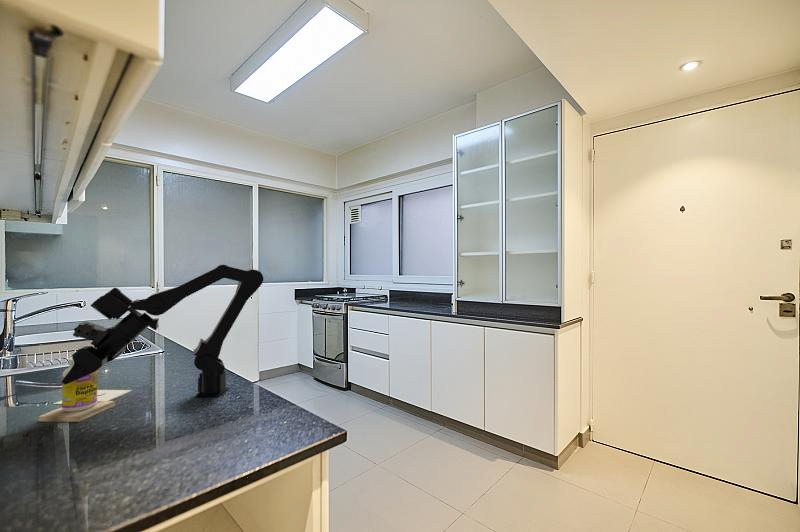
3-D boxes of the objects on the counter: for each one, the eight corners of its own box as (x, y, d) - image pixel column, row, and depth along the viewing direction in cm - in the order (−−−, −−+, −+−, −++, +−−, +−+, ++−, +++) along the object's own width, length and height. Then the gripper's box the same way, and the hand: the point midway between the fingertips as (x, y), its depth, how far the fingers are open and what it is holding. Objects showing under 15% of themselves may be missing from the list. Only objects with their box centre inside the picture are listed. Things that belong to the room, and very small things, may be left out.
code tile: (132, 390, 105) (132, 389, 105) (99, 404, 94) (99, 403, 94) (90, 390, 106) (90, 389, 106) (53, 404, 95) (53, 403, 95)
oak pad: (114, 405, 94) (114, 401, 94) (79, 421, 84) (79, 416, 84) (78, 405, 94) (78, 400, 94) (38, 421, 84) (38, 416, 84)
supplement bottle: (72, 414, 85) (73, 361, 85) (55, 410, 87) (56, 359, 87) (103, 404, 91) (103, 355, 91) (87, 401, 93) (87, 353, 94)
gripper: (112, 307, 99) (61, 349, 95) (83, 314, 82) (19, 367, 78) (145, 333, 102) (97, 375, 98) (124, 345, 85) (65, 397, 81)
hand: (72, 377), depth 88 cm, fingers open, 9 cm apart
